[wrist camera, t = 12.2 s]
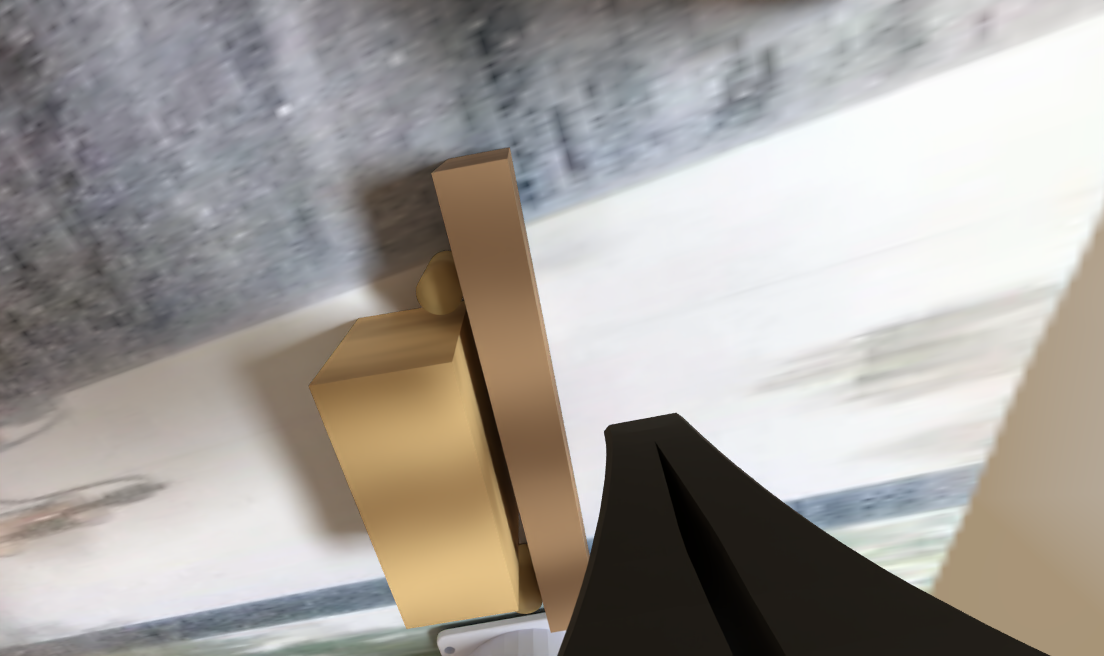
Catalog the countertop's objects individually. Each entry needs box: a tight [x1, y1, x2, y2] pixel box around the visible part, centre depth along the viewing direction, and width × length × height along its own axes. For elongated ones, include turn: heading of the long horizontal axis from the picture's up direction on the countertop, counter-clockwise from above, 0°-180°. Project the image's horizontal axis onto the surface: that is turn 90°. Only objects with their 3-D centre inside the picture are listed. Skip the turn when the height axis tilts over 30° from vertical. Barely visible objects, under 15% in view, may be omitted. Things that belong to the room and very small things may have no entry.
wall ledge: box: [416, 147, 590, 633], centre depth 19 cm, size 18×4×4 cm, turn 10°
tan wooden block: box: [309, 301, 519, 629], centre depth 18 cm, size 10×4×5 cm, turn 9°
